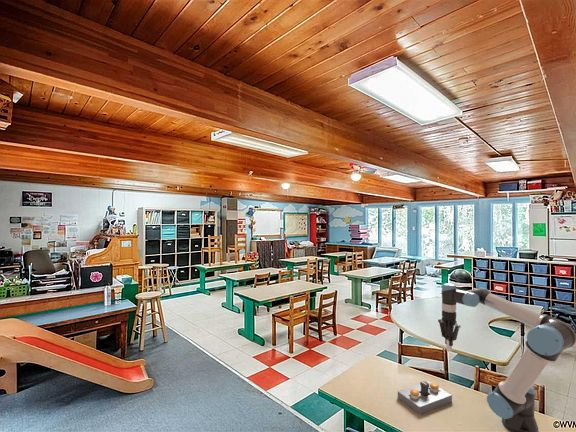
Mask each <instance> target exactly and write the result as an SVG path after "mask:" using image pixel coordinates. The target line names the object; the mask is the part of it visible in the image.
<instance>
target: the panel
mask: <svg viewBox="0 0 576 432" xmlns="http://www.w3.org/2000/svg"><path fill="white" fill-rule="evenodd" d="M426 382H427V383H429V388H428V396H424V395H422V394H421V385H420V383H418V384H415V385H413V386H409V387H406V388H403V389H400V390H397V399H398V400H400V401H401V402H403V403H404V404H405V405H406V406H408V407H409V408H411V409H412V410H414V411H415V412H416V413H417V414H419V415H421V414H425V413H427V412H429V411H432V410H435V409H436V408H440V407H442V406H445V405H447V404H450V403H452V402H453V394H451V393H449V392H447V390H444V389H443V388H441V387H440V386H439V389H438V392H436V393H434V392H432V391H431V390H430V388H431V387H430V383H432V382H431V381H430V380H428V381H427V380H426ZM411 389H415V390H417V391H419V396H418V399H417V400H414V399H413V398H411V394H410V390H411Z"/></svg>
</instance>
